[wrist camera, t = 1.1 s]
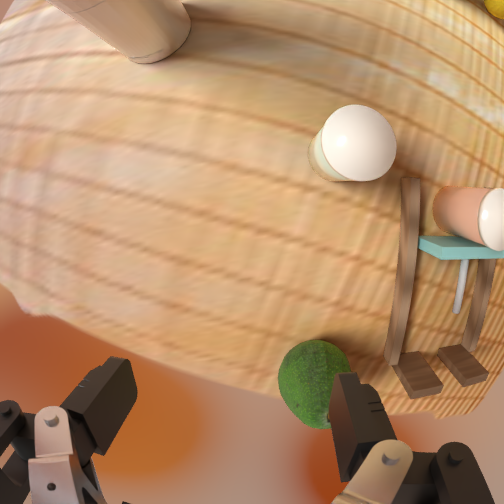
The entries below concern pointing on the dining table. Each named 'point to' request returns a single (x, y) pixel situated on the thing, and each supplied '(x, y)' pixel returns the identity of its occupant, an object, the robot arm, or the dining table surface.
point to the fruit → (311, 380)
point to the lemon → (495, 7)
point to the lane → (409, 364)
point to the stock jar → (472, 214)
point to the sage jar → (353, 145)
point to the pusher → (457, 256)
